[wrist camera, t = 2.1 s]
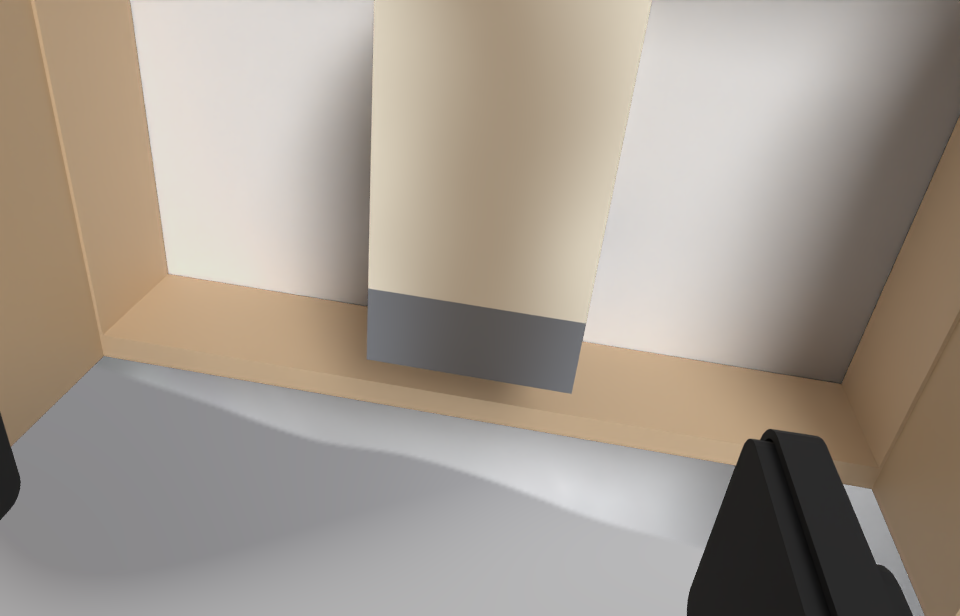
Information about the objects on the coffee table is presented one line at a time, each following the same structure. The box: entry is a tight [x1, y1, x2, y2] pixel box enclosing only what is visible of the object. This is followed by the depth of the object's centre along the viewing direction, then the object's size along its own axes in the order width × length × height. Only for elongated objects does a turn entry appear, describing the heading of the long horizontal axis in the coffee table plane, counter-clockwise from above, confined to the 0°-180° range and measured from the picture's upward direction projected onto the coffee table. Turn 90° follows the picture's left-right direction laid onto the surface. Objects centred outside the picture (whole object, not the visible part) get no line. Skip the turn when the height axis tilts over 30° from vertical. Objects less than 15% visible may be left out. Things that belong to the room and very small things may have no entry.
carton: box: [0, 0, 960, 616], centre depth 18 cm, size 25×17×9 cm
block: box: [367, 0, 652, 394], centre depth 19 cm, size 5×9×7 cm, turn 174°
